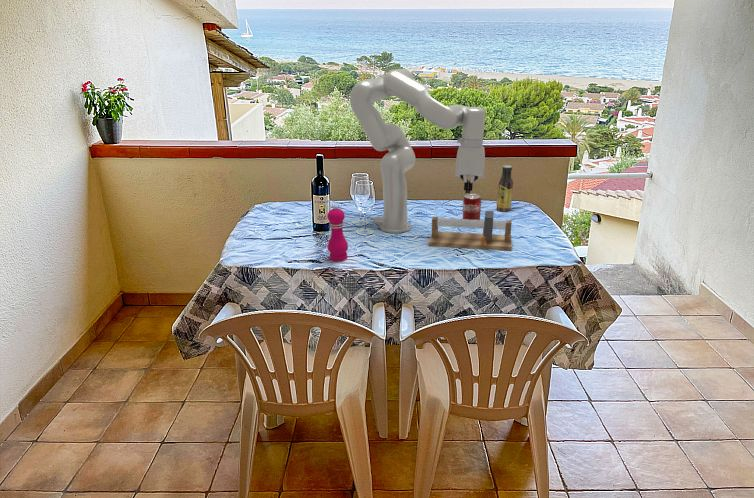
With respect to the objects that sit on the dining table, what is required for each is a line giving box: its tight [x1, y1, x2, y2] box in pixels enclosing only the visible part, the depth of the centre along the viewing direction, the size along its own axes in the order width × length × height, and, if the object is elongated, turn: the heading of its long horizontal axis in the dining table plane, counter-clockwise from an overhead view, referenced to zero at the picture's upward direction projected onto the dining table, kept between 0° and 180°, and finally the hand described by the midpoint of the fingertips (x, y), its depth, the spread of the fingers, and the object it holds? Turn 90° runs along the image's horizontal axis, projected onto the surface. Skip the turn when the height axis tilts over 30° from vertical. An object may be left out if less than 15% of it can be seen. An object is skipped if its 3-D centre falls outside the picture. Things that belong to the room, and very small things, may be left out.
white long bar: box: [437, 217, 506, 230], centre depth 193 cm, size 25×2×2 cm, turn 77°
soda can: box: [461, 193, 482, 220], centre depth 213 cm, size 7×7×12 cm
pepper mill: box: [327, 204, 349, 262], centre depth 181 cm, size 7×7×20 cm
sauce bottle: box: [496, 164, 514, 212], centre depth 227 cm, size 7×6×20 cm
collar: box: [484, 210, 495, 239], centre depth 192 cm, size 3×8×8 cm, turn 167°
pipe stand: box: [428, 216, 513, 252], centre depth 194 cm, size 30×12×9 cm, turn 77°
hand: (467, 192), depth 192 cm, fingers closed
